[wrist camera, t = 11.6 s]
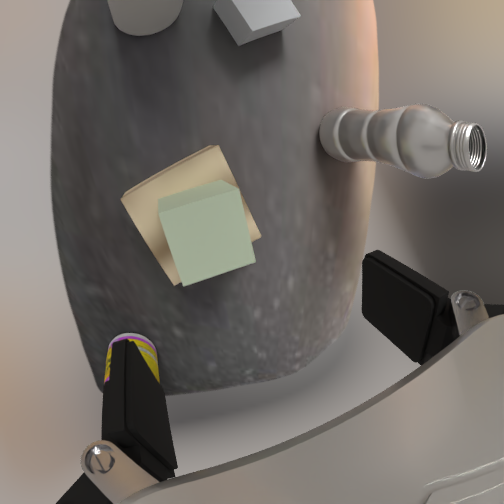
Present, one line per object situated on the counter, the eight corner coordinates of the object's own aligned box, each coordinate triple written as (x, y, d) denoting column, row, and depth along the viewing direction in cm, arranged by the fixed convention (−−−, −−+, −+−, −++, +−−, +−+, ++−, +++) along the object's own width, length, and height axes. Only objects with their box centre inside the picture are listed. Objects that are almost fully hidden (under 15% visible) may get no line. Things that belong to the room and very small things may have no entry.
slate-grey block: (212, 7, 23) (223, -13, 18) (257, -7, 23) (273, -25, 19) (238, 46, 26) (252, 31, 21) (281, 30, 26) (301, 16, 22)
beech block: (126, 191, 28) (120, 199, 24) (209, 145, 29) (218, 145, 25) (171, 266, 33) (174, 286, 28) (246, 223, 34) (261, 236, 29)
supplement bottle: (115, 323, 32) (108, 401, 21) (163, 339, 35) (175, 416, 24) (103, 360, 33) (96, 436, 22) (147, 373, 36) (155, 448, 25)
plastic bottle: (357, 115, 33) (495, 119, 15) (351, 164, 35) (487, 197, 17) (315, 102, 31) (460, 88, 13) (308, 156, 33) (452, 183, 15)
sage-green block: (158, 198, 25) (158, 213, 19) (221, 179, 26) (239, 188, 21) (177, 258, 27) (183, 286, 22) (236, 238, 28) (255, 262, 23)
